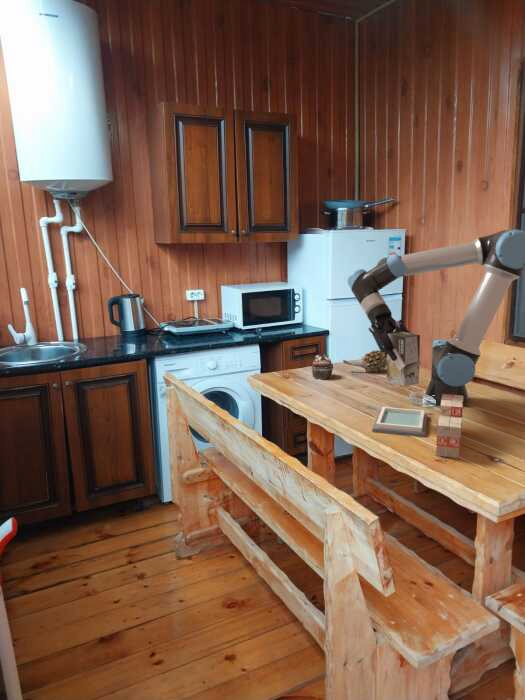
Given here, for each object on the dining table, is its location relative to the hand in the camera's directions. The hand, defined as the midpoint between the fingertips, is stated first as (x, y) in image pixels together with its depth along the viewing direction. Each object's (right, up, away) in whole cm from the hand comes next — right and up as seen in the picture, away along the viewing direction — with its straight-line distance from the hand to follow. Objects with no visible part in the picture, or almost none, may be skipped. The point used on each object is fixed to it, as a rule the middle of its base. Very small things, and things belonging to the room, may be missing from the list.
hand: (410, 366), depth 166 cm
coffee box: (-1, -6, +4) cm, 7 cm away
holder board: (-1, -19, +7) cm, 21 cm away
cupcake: (-21, -7, +66) cm, 69 cm away
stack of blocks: (+9, -23, -9) cm, 26 cm away
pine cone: (0, -5, +73) cm, 73 cm away
